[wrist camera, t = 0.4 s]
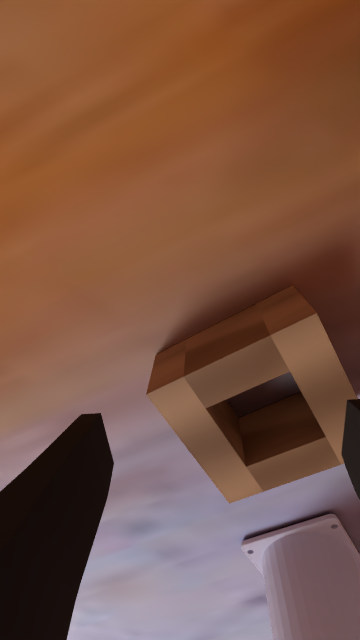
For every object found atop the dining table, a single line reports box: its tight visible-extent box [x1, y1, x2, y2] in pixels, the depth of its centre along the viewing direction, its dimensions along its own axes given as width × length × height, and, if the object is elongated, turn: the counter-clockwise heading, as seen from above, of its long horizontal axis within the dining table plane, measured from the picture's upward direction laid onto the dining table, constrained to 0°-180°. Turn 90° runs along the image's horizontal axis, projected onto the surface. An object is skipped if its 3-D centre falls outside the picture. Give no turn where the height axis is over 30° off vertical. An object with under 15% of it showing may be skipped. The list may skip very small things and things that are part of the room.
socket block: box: [146, 285, 358, 503], centre depth 19 cm, size 9×9×4 cm
